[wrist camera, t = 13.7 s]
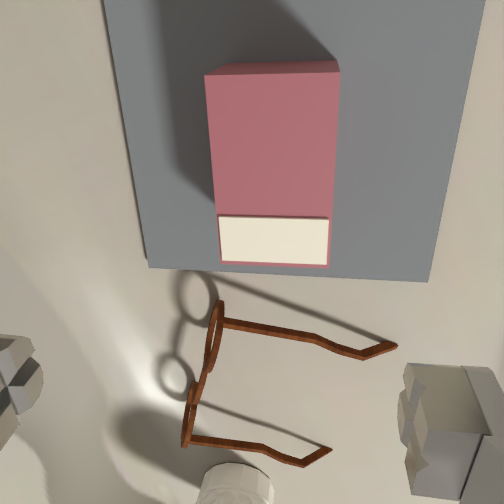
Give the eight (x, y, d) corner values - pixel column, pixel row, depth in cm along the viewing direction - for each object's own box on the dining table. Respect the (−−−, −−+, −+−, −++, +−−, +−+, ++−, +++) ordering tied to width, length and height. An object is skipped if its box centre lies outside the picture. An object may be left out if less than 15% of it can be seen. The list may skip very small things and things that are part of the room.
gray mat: (152, 263, 29) (148, 267, 29) (106, -10, 22) (101, -10, 21) (425, 277, 27) (427, 282, 26) (486, -26, 19) (490, -27, 19)
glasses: (220, 283, 30) (203, 329, 26) (397, 339, 30) (410, 394, 26) (185, 404, 37) (167, 456, 32) (330, 449, 37) (331, 507, 32)
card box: (227, 62, 22) (203, 75, 17) (337, 60, 21) (340, 72, 17) (237, 222, 26) (219, 265, 22) (328, 225, 25) (329, 269, 21)
